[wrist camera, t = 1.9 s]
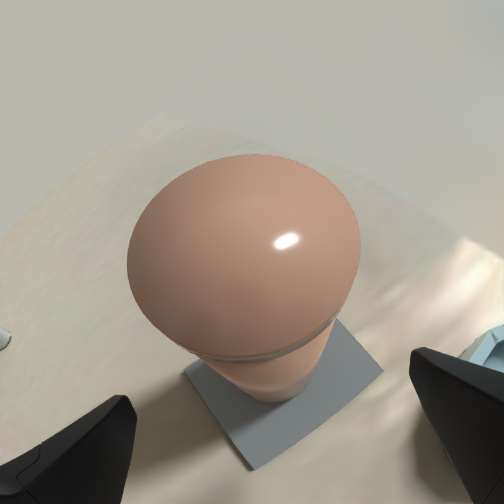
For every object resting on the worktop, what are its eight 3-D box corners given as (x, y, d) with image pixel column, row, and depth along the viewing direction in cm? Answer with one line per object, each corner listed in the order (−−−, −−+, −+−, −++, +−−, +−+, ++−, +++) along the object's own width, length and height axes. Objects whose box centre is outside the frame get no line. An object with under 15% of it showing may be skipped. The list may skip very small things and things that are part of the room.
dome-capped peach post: (263, 421, 17) (199, 410, 5) (214, 354, 19) (101, 225, 8) (334, 368, 18) (408, 247, 6) (281, 307, 21) (262, 131, 9)
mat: (255, 469, 15) (254, 470, 15) (185, 370, 19) (183, 369, 19) (382, 371, 18) (383, 370, 17) (305, 286, 22) (305, 284, 21)
